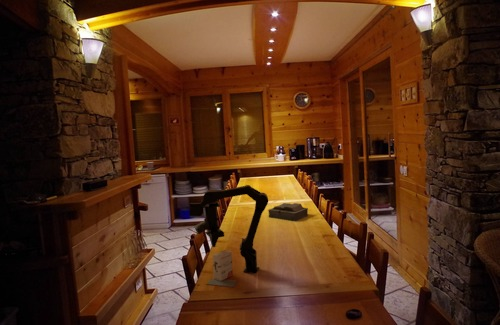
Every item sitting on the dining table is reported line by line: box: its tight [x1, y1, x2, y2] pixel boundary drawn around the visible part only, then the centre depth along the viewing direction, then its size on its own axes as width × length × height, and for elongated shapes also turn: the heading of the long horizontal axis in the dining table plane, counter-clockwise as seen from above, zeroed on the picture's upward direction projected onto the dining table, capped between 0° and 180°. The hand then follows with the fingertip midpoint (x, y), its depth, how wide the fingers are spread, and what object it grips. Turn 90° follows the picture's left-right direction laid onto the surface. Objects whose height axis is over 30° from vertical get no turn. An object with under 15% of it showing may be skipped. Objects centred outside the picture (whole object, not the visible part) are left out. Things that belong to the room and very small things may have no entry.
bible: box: [268, 202, 309, 222], centre depth 266 cm, size 23×27×10 cm
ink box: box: [212, 249, 234, 281], centre depth 165 cm, size 9×5×12 cm, turn 141°
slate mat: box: [206, 278, 238, 288], centre depth 159 cm, size 6×13×1 cm, turn 73°
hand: (213, 246), depth 170 cm, fingers closed
